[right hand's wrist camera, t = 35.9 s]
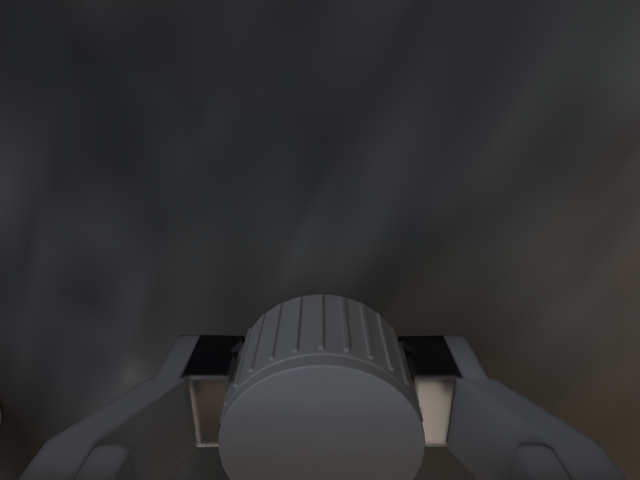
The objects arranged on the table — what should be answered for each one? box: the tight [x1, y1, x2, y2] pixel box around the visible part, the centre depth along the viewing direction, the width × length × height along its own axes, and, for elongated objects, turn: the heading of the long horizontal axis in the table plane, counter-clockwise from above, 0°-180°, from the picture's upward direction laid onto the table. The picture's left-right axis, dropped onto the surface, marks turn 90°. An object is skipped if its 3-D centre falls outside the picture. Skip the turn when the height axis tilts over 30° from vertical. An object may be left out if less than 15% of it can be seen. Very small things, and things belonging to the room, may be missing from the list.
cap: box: [218, 295, 425, 480], centre depth 9 cm, size 4×4×2 cm
